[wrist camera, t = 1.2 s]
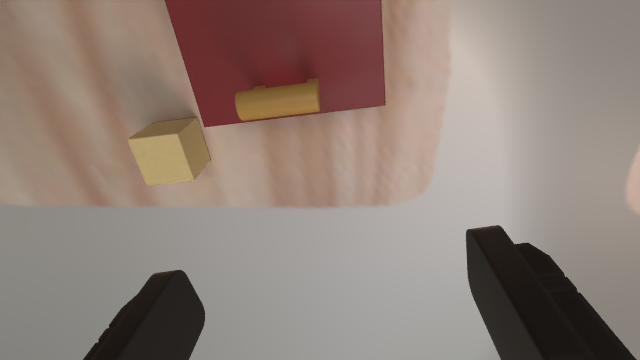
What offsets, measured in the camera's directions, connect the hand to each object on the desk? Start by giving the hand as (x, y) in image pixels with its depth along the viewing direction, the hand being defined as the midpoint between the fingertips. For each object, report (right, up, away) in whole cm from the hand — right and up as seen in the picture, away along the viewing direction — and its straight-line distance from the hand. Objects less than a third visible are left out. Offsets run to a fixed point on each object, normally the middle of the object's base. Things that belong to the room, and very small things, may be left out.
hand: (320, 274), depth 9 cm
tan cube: (-13, +6, +21) cm, 25 cm away
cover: (-3, +12, +11) cm, 17 cm away
